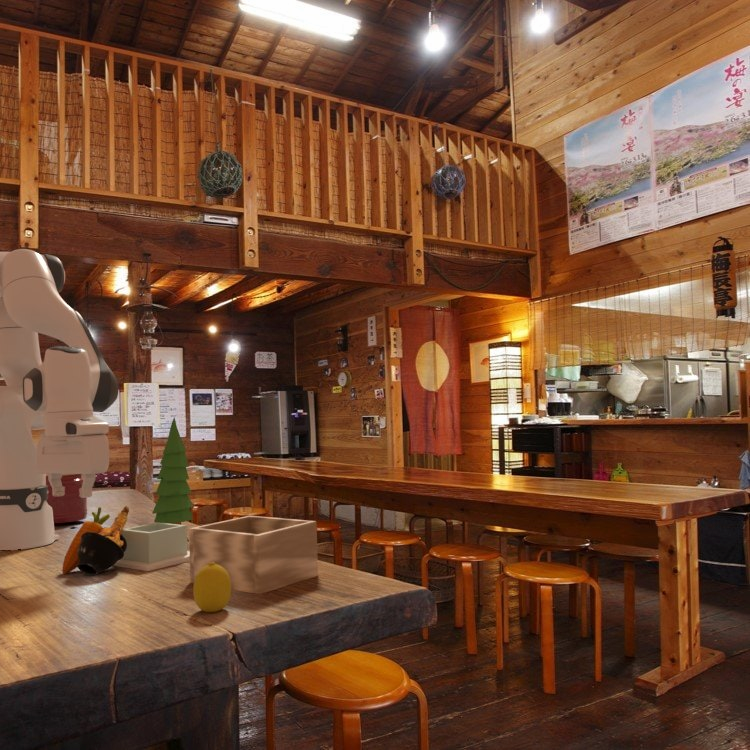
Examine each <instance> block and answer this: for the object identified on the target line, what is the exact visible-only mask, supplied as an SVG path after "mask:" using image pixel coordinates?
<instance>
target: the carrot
mask: <svg viewBox="0 0 750 750" xmlns="http://www.w3.org/2000/svg"><path fill="white" fill-rule="evenodd" d="M101 513H102V507H101V506H98V507H97V512H95V511H92V512H91V515H92V516H93V521H92V520H91V521H90V520H87V521H84V522H83V523H82V525H81V526H80V528H79V529H78V531H77V533H76V534H75V536H74V537H73V539H72V541H71V543H70V545H69V547H68V548H67V551H66V554H65V556H64V558H63V562H62V569H61V572H62V574H63V575H66V574H69V573H70V572H72V571H73V570H75V569H78V567H77V565H78V564H79V558H78V548H79V545H80V543H81V536H82V534H84V533H86V532H93V533H100V531H101V530H102V529H103V528H104V527H103V526H102V525H104V523H105V522H107V521H108V520H109V519H110V517H111V516H110V514H109V513H106V514H105V515H103V516H102V517H100V516H101Z"/></svg>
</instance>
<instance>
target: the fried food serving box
mask: <svg viewBox="0 0 750 750" xmlns="http://www.w3.org/2000/svg"><path fill="white" fill-rule="evenodd" d="M317 526H318V524H317V521H316V520H308V519H307V520H306V519H305V520H304V519H296V518H295V519H293V518H282V517H270V516H259V515H246V516H241V517H236V518H232V519H227V520H223V521H218V522H213V523H208V524H204V525H198V526H195V527H194V526H193V527H189V528H188V533H189V534H188V535H189V537H188V540H189V541H188V542H189V551H190V561H189V577H190V579H189V581H190V583H191V584H194V581H195V577H196V575H197V573H198V572H199V571H200V570H201V569H202V568H203V567H204V566H206V565H208V564H209V563H210V562H214V563H215V564H217V565H220V566H222V567H223V568H224V569H225V570H226V571H227V572H228V575H229V577H230V581H231V591H239V592H246V593H252V594H256V595H262V594H265V593H268V592H271V591H274V590H278V589H281V588H284V587H287V586H289V585H292V584H296V583H299V582H302V581H305V580H309V579H311V578H314V577H317V576H319V562H318V560H319V557H318V556H319V555H318V529H317V528H318V527H317Z"/></svg>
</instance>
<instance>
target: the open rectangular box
mask: <svg viewBox="0 0 750 750" xmlns="http://www.w3.org/2000/svg"><path fill="white" fill-rule="evenodd" d="M121 534H122V536H123V537H124V538H125V539H126V542H127V549H126V551H125V552H124V557H123V558H122V559H120V560H118V561H117V562H116V563H115V564H114V565H113V566H112V567H117V568H118V567H120V568H126V569H131V570H138V571H144V572H149V571H150V572H151V571H153V570H158V569H161V568H167V567H169V566H170V567H171V566H175V565H181V564H183V563H187V562H190V550H188V541H187V538H188V525H186V524H182V525H179V524H169V523H159V522H157V523H156V522H152V523H147V524H143V525H138V526H132V527H127V528H123V530H122V533H121Z"/></svg>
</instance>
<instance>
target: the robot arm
mask: <svg viewBox="0 0 750 750" xmlns="http://www.w3.org/2000/svg"><path fill="white" fill-rule="evenodd" d="M65 281H66V272H65V269H64V266H63V263H62V261H61V260H60V259H59V258H58V257H57V256H55V255H52V254H48V253H42V254H40V253H38V252H36V251H35V250H32V249H27V248H20V249H14V250H12V251H0V375H1V377H2V378H3V379H4V382H5V385H0V550H11V551H19V550H18V549H21V550H28V549H33V548H39V547H44V546H47V545H50V544H53V543H54V541H57V540H59V539H60V535H59V534H56V533H55V523H54V521H53V511H52V507H51V506H49V505H48V503H47V501H46V500H47V499H48V486H47V485H46V474H48V480H49V482H50V484H51V487H52V493H53V496H64V495H65V492H64V491H65V487H62V483H61V479H60V478H62V474H81V477H82V480H83V484H82V488H80V489H79V492H80V494H79V495H80V497H83V498H87V499H88V498H91V497H93V487H94V484H95V481H96V478H97V477H96V475H97V474H103V473H106V472H107V471H108V468H109V466H110V445H109V444H110V443H109V438H108V437H107V435H106V434H108V433H109V432H110V427H109V426H110V425H109V423H108V422H106V421H105V420H102V419H100V418H98V417H97V416H95V415H94V413H103V412H105V411H107V410H108V409H109V408H111V406H112V405H113V404H114V403H115V402H116V400H117V399H118V396H119V383H118V380H117V377H116V376H115V374H114V372H113V371H112V369H111V368H110V367H109V365H108V364H107V363H106V361H105V359H104V358H103V355H102V353H101V351H100V349H99V348H98V346H97V343H96V342H95V341H96V340H94V337H93V336H92V334H91V332H90V329H89V328H88V325H87V323H86V321H85V320H84V318H83V317H82V315H81V314H80V313H79V312H78V311H77V310H75V309H74V308H72V307H71V306H70V305H69V304H67V302H66V301H65V300H64V299H63V298H62V296H61V295H60V294H59V293H61V292H62V290H64V285H65ZM39 334H42V335H45V336H48V337H52V338H54V339H57V340H59V341H61V342H62V343H64V344H66V345H67V346H52V347H49V348H47V349H46V350H45V353H44V358H43V361H42V358H41V357H42V355H41V350H40V340H39ZM36 430H43V431H42V432H41V434H40V437H39V439H38V440H37V443H36V442H35V439H34V437H33V435H32V431H36Z"/></svg>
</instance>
